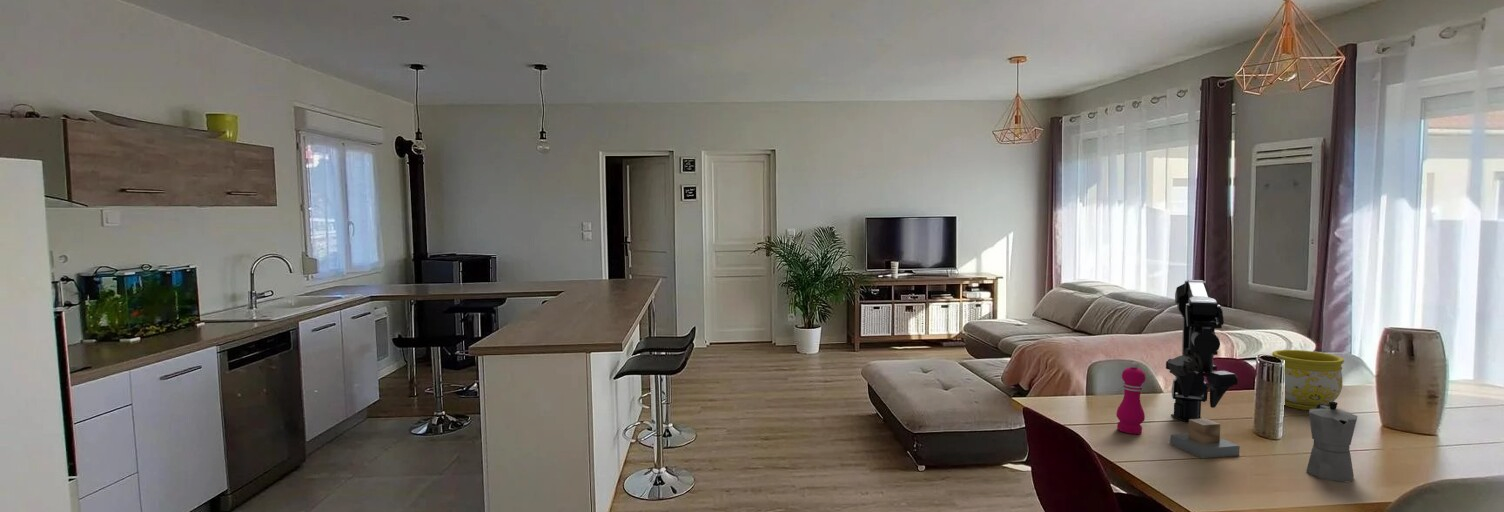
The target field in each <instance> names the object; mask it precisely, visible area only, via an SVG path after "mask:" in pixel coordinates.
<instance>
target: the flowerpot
mask: <svg viewBox="0 0 1504 512" xmlns="http://www.w3.org/2000/svg"><path fill="white" fill-rule="evenodd" d="M1271 354H1272V357H1273V356H1274V357H1278V358H1282V359H1284V360H1285V405H1284V406H1285V407H1289V408H1293V409H1297V410H1302V411H1310V409H1316V407H1317V405H1318V404H1324V405H1325V406H1328V407H1329V409H1330V404H1329V402H1336V400H1337V399H1338V397H1339V396H1340V394H1341V393H1342V389H1343V373H1342V369H1343V367H1342V365H1343V364H1344V363H1345V359H1344V358H1343V357H1341V356H1338V355H1336V354H1331V353H1325V352H1320V351H1313V350H1312V351H1310V350H1299V349H1281V350H1275V351H1272V353H1271ZM1274 357H1273V358H1274Z"/></svg>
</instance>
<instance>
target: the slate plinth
mask: <svg viewBox="0 0 1504 512" xmlns="http://www.w3.org/2000/svg"><path fill="white" fill-rule="evenodd" d="M1169 439H1170V440H1169V444H1170V445H1172V446H1175V447H1176V448H1179V449H1181V450H1183V451H1184V452H1188V453H1190V454H1191V455H1194V456H1197V457H1199V458H1201V459H1205V458H1206V459H1207V458H1219V457H1221V458H1222V457H1230V456H1231V457H1232V456H1233V457H1234V456H1240V451H1241V450H1240V448H1241V447H1240V445H1239V444H1236V443H1233V442H1232V441H1229V440H1226V439H1223V438H1221V437H1220V443H1207V444H1202V443H1200V442H1197V441H1195V440H1193V439H1190V438H1188V433H1176V434H1170V435H1169Z"/></svg>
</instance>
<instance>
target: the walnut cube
mask: <svg viewBox="0 0 1504 512" xmlns="http://www.w3.org/2000/svg"><path fill="white" fill-rule="evenodd" d="M1202 418H1203V417H1202ZM1187 429H1188V431H1187V432H1188V433H1187V434H1188V438H1190V439H1193V440H1195V441H1197V442H1200V443H1202V444H1207V443H1220V438H1221V423H1218V422H1216V421H1213V420H1211V419H1208V418H1205V417H1204V418H1203V419H1189V422H1188V428H1187Z"/></svg>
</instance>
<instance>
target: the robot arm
mask: <svg viewBox="0 0 1504 512" xmlns="http://www.w3.org/2000/svg"><path fill="white" fill-rule="evenodd" d="M1174 303H1175V305H1176V306H1177V307H1176V309H1177V312H1179V313H1180V315H1181V316H1182V344H1181V348H1182V349H1181V350H1182V351H1181V355H1179V356H1177V357H1174V358H1169V359H1168V360H1166V361H1165V369H1166V370H1168V372H1169V373H1170V374H1172V375H1173V376H1175V379H1172V385H1171V398H1172V399H1173V400H1174V403H1173V413H1172V414H1170V417H1172V418H1175V419H1177V420H1179V421H1183V422H1184V423H1189V419H1203V417H1202V416H1201V413H1202V402H1204V403H1206V402H1207V401H1208V396H1209V406H1210V408H1211V409H1213V408H1214V409H1215V408H1216V407H1217V405H1218V403H1219V402H1220V400H1221V399H1222V398H1223V396H1224V395H1225V393H1226V392H1227V391H1228V390H1229V389H1230V388H1231V387H1232V388H1233V387H1234V386H1238V380H1239V377H1238V375H1236V373H1233V372H1229V371H1227V370H1218V366H1217V365H1214V356H1217V355H1219V354H1218V352H1219V349H1220V347H1221V341H1220V338H1219V337H1218V336H1217V334H1216V331H1215V329H1218V330H1219V329H1220V330H1221V329H1222V326H1224V313H1223V312H1224V311H1223V309H1222V306H1221V305H1220V304H1218V302H1217V300H1216V299H1215V298H1212V297H1210V288H1209V287H1208V286H1207V285H1206V281H1205V280H1202V279H1201V280H1200V279H1187V280H1185V281H1184V283H1183V284H1181V285H1179V286H1177V287H1175V293H1174ZM1205 378H1206V381H1205ZM1208 393H1209V395H1208Z"/></svg>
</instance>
